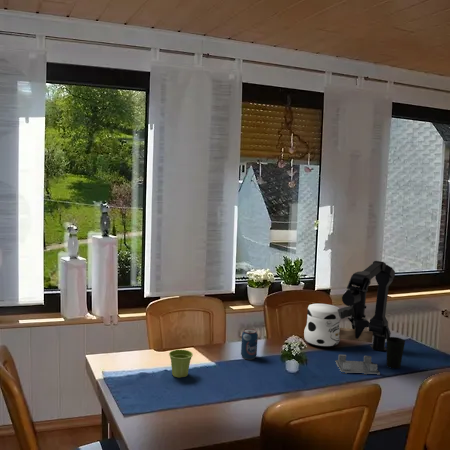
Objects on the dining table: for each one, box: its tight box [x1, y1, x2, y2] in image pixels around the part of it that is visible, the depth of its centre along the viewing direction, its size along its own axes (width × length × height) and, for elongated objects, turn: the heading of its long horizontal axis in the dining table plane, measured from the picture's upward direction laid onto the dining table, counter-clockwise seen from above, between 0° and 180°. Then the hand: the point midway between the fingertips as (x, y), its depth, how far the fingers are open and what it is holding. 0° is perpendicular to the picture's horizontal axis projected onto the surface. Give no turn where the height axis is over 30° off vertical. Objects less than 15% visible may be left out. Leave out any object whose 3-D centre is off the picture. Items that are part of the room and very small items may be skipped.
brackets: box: [335, 354, 381, 376], centre depth 217 cm, size 12×16×4 cm
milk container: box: [303, 303, 341, 348], centre depth 246 cm, size 17×17×18 cm
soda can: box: [240, 328, 259, 361], centre depth 224 cm, size 7×7×12 cm
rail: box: [339, 327, 373, 344], centre depth 224 cm, size 14×4×4 cm, turn 77°
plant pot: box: [168, 349, 194, 379], centre depth 201 cm, size 9×9×9 cm
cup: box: [385, 336, 406, 369], centre depth 221 cm, size 8×8×12 cm
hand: (355, 337), depth 224 cm, fingers closed on rail, 4 cm apart
